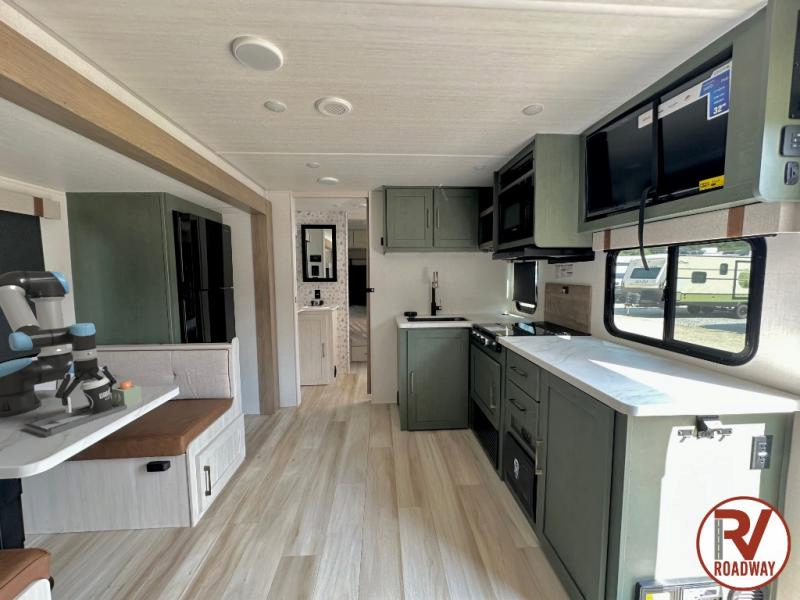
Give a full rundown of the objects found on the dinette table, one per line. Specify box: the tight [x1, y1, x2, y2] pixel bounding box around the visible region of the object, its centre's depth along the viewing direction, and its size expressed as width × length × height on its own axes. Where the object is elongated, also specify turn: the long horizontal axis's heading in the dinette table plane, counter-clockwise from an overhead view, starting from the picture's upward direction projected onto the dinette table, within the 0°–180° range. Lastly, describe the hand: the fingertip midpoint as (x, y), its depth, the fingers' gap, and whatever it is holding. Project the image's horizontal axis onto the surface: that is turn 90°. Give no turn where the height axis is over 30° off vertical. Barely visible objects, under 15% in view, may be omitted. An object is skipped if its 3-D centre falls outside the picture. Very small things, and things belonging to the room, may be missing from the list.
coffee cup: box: [79, 375, 113, 414], centre depth 142 cm, size 10×10×15 cm
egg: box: [119, 380, 132, 390], centre depth 152 cm, size 4×4×6 cm
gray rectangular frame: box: [23, 403, 128, 438], centre depth 136 cm, size 17×26×2 cm, turn 159°
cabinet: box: [110, 384, 143, 407], centre depth 152 cm, size 10×8×8 cm
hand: (89, 406), depth 139 cm, fingers open, 13 cm apart
